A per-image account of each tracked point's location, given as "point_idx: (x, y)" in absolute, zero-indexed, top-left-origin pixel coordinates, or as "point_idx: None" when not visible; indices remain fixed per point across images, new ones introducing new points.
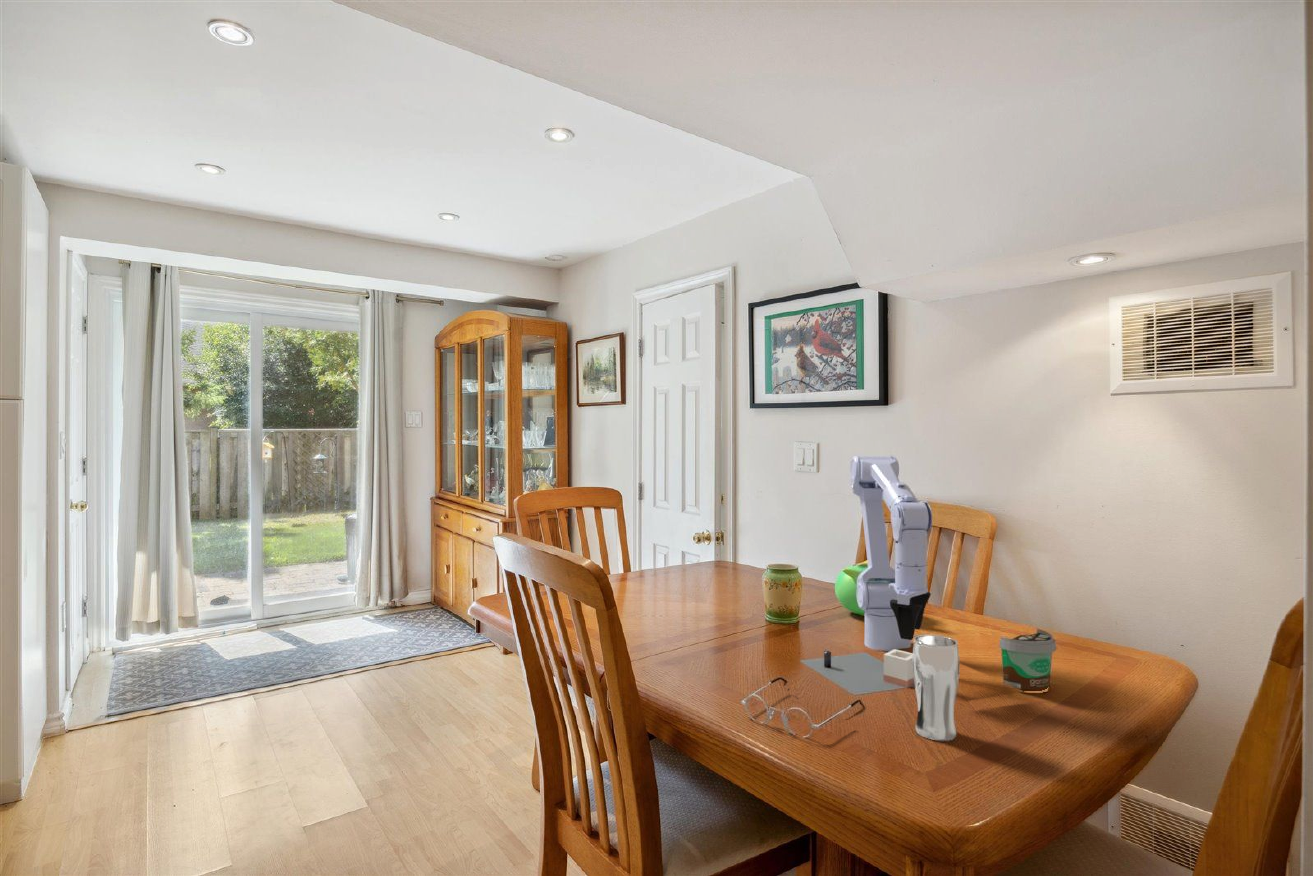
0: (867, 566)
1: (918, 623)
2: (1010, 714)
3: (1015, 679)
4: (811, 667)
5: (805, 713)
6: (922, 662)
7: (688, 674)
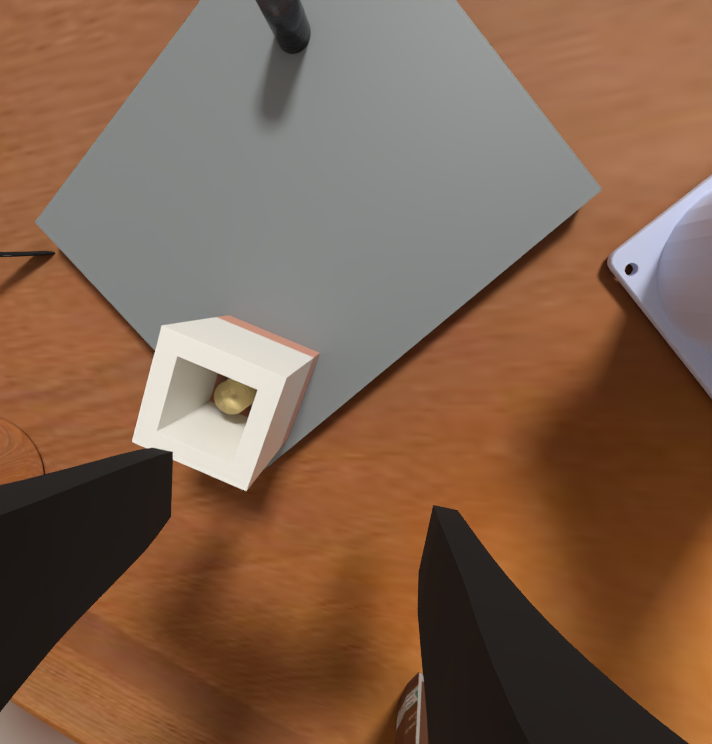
0: None
1: (424, 603)
2: (217, 646)
3: (397, 738)
4: None
5: None
6: None
7: None
